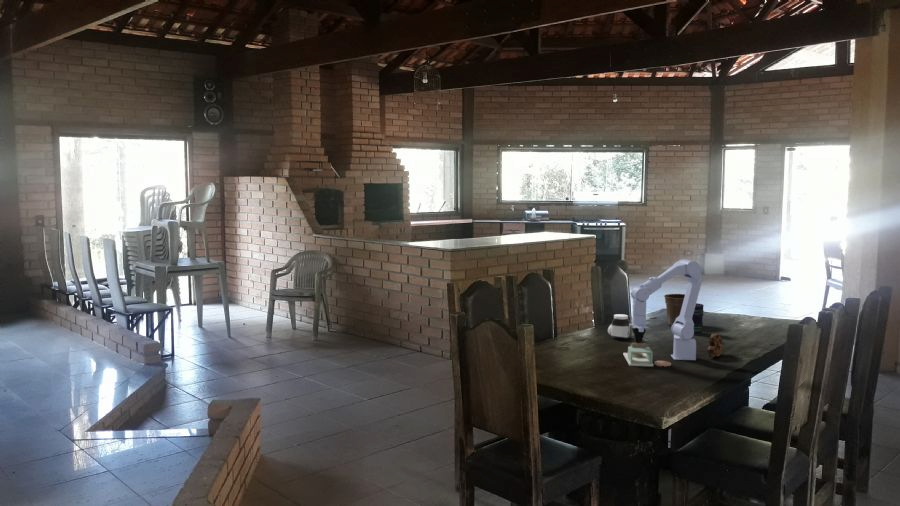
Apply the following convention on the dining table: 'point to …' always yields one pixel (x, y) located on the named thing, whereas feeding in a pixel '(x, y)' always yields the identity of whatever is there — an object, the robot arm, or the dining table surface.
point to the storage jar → (698, 319)
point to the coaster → (662, 363)
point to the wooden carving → (715, 345)
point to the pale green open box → (640, 351)
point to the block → (636, 355)
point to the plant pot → (673, 306)
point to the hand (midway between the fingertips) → (638, 344)
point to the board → (638, 360)
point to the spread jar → (620, 327)
